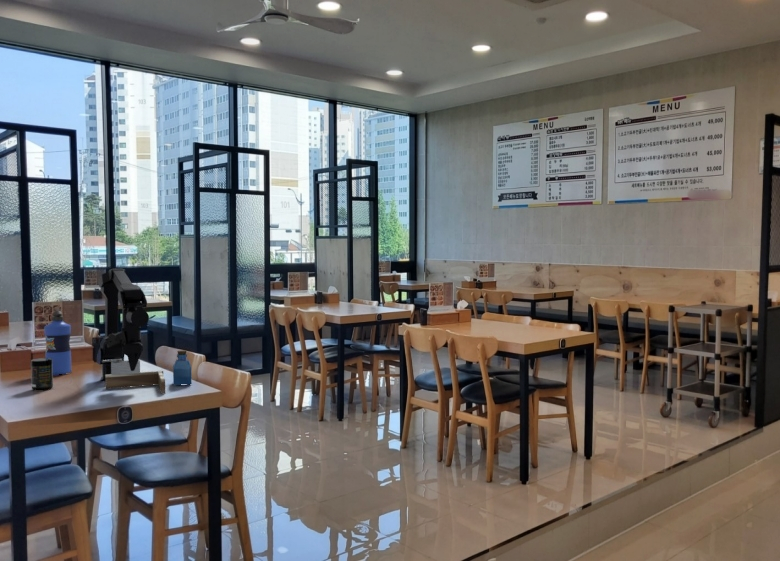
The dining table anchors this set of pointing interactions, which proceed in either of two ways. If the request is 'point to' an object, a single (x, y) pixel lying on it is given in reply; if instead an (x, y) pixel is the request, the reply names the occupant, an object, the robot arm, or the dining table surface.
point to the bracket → (123, 367)
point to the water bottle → (58, 344)
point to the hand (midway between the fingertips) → (132, 369)
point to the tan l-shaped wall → (136, 380)
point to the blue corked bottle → (182, 369)
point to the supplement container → (42, 374)
